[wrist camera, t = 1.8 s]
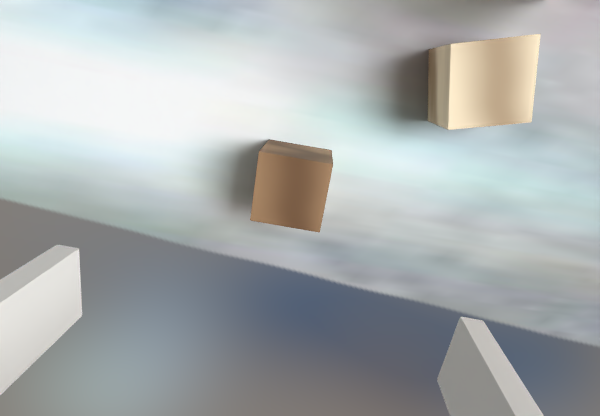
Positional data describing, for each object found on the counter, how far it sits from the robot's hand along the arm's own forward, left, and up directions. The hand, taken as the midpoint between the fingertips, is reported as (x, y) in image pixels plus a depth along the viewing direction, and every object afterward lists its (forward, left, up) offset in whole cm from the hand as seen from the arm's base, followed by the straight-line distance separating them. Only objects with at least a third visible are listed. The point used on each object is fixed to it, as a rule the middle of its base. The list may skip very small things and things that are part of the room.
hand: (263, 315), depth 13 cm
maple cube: (+11, +9, -19) cm, 23 cm away
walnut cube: (0, 0, -19) cm, 19 cm away
